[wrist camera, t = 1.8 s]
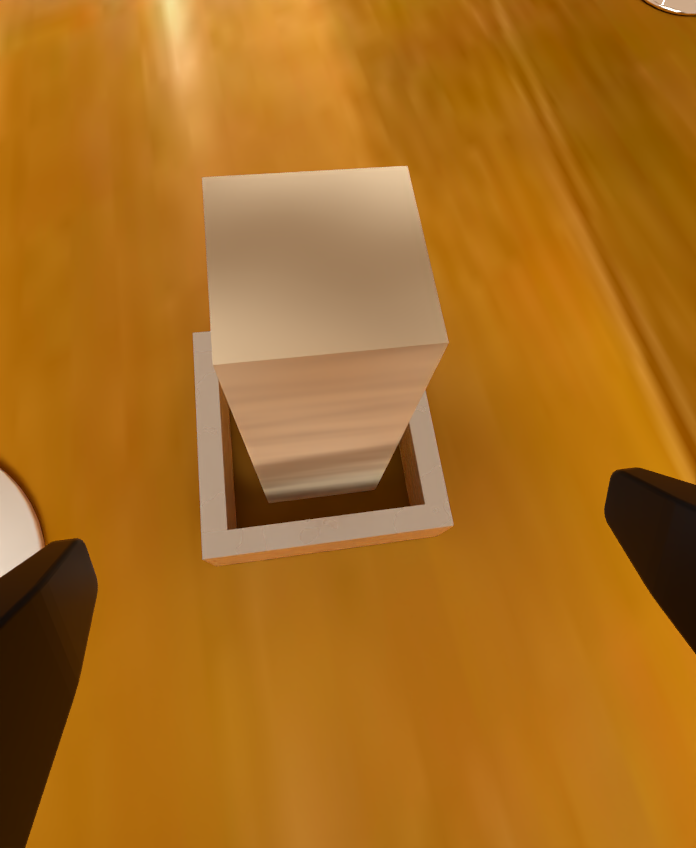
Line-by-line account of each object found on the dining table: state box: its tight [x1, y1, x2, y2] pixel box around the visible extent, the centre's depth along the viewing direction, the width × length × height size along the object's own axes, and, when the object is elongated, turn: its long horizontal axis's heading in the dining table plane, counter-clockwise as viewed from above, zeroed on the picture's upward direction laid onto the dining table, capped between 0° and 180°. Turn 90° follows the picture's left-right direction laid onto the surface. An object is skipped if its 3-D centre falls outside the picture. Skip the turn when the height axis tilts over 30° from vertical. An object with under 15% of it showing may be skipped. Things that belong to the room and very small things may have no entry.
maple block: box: [202, 166, 449, 503], centre depth 18 cm, size 5×5×14 cm
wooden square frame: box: [193, 331, 454, 566], centre depth 23 cm, size 10×10×3 cm
